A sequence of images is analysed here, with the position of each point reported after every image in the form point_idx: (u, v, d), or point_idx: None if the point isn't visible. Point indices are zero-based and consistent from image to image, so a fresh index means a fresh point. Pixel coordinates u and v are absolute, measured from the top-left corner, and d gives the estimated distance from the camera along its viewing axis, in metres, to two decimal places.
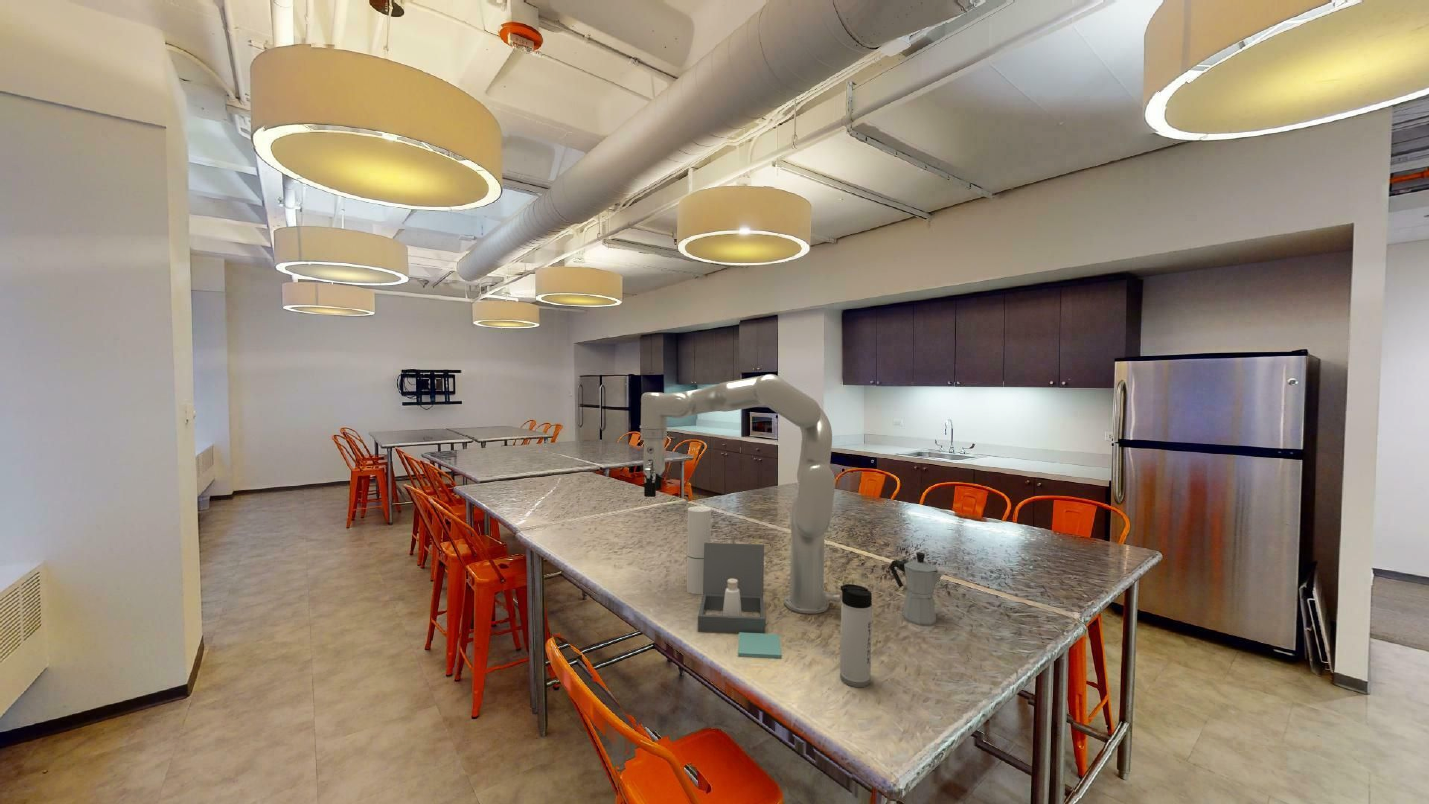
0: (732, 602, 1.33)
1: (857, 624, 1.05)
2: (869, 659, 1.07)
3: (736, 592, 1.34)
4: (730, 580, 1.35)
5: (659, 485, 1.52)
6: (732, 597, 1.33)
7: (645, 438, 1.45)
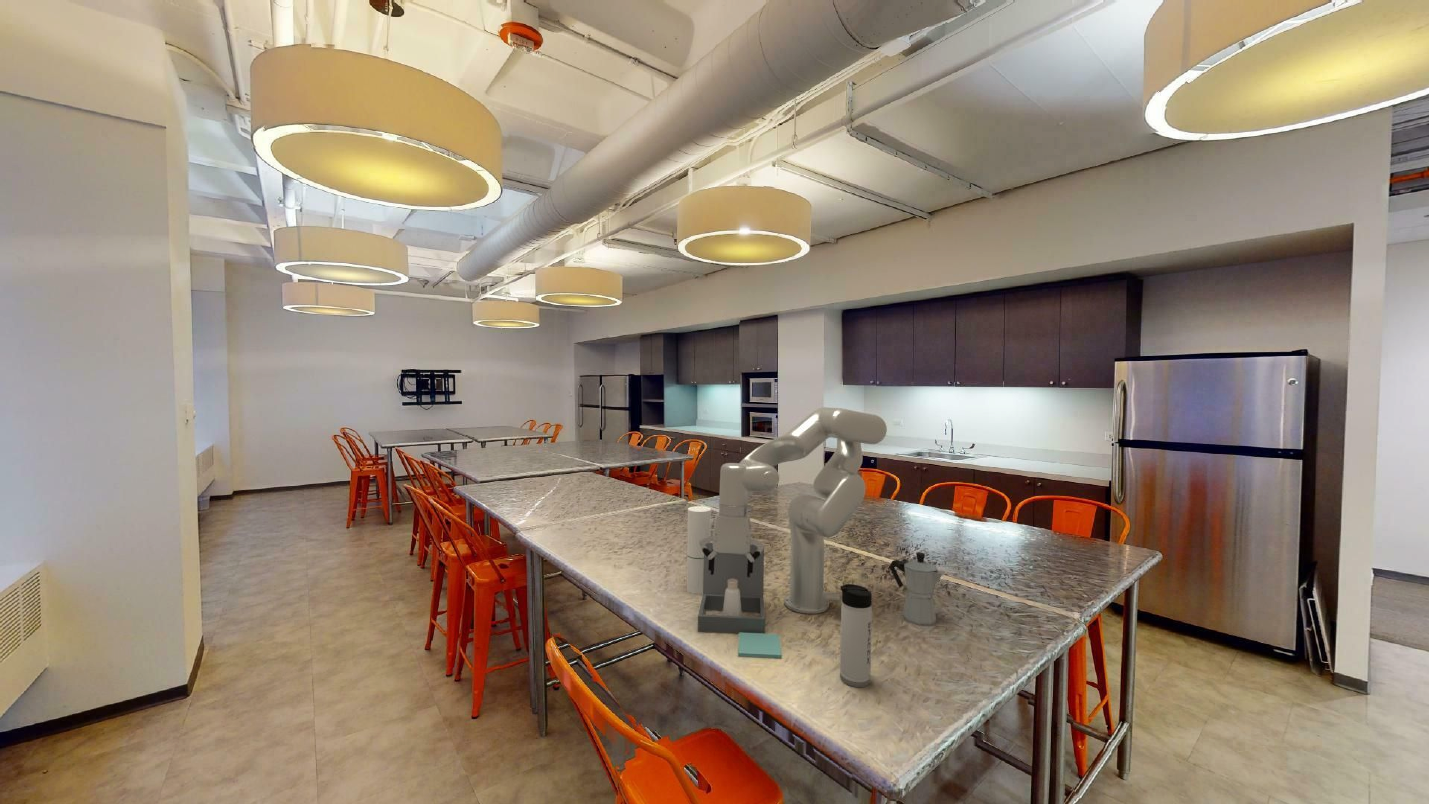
0: (732, 602, 1.33)
1: (857, 624, 1.05)
2: (869, 659, 1.07)
3: (736, 592, 1.34)
4: (730, 580, 1.35)
5: None
6: (733, 597, 1.33)
7: (745, 515, 1.33)
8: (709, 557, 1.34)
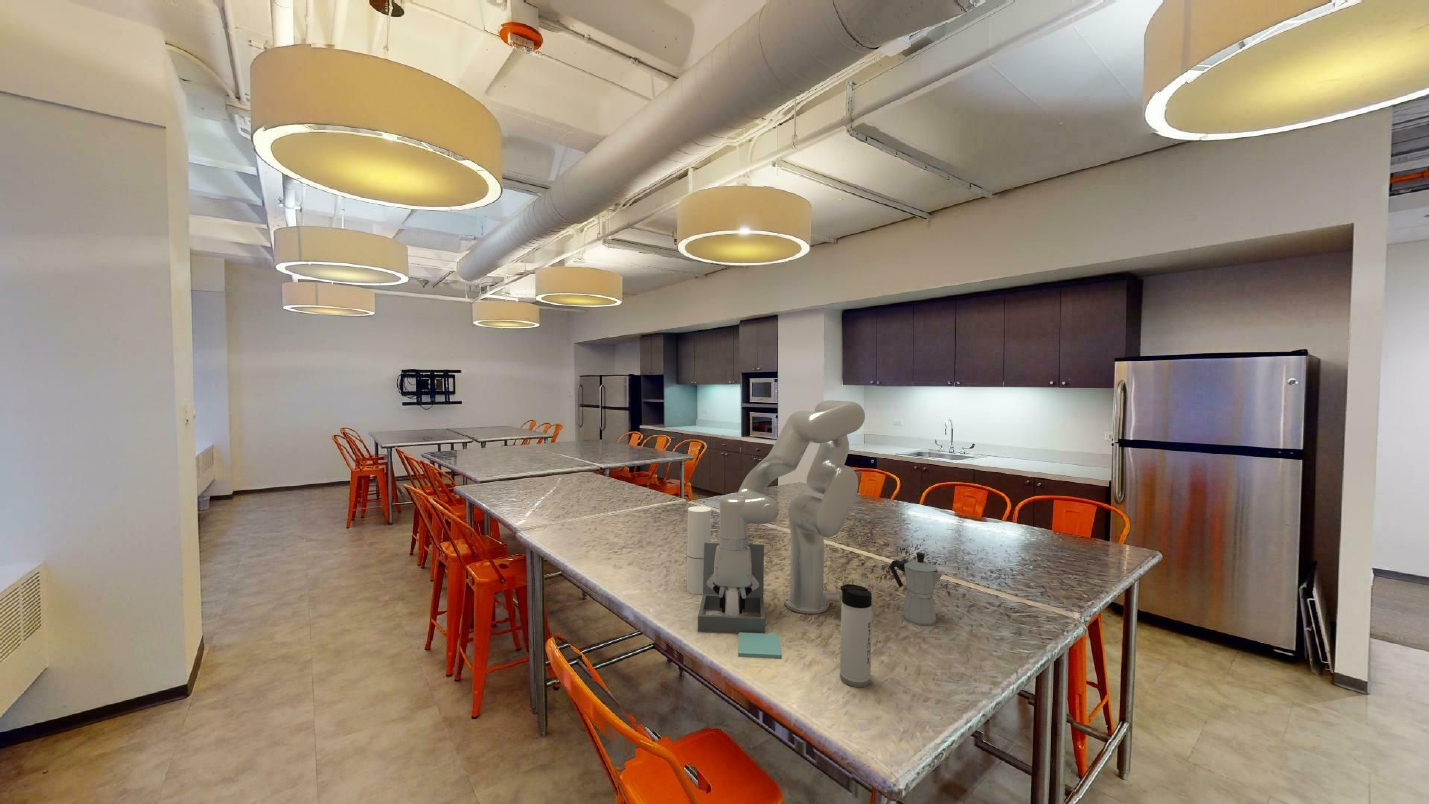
0: (732, 602, 1.33)
1: (857, 624, 1.05)
2: (869, 659, 1.07)
3: (736, 592, 1.34)
4: None
5: None
6: (732, 597, 1.33)
7: (745, 548, 1.33)
8: (720, 595, 1.34)
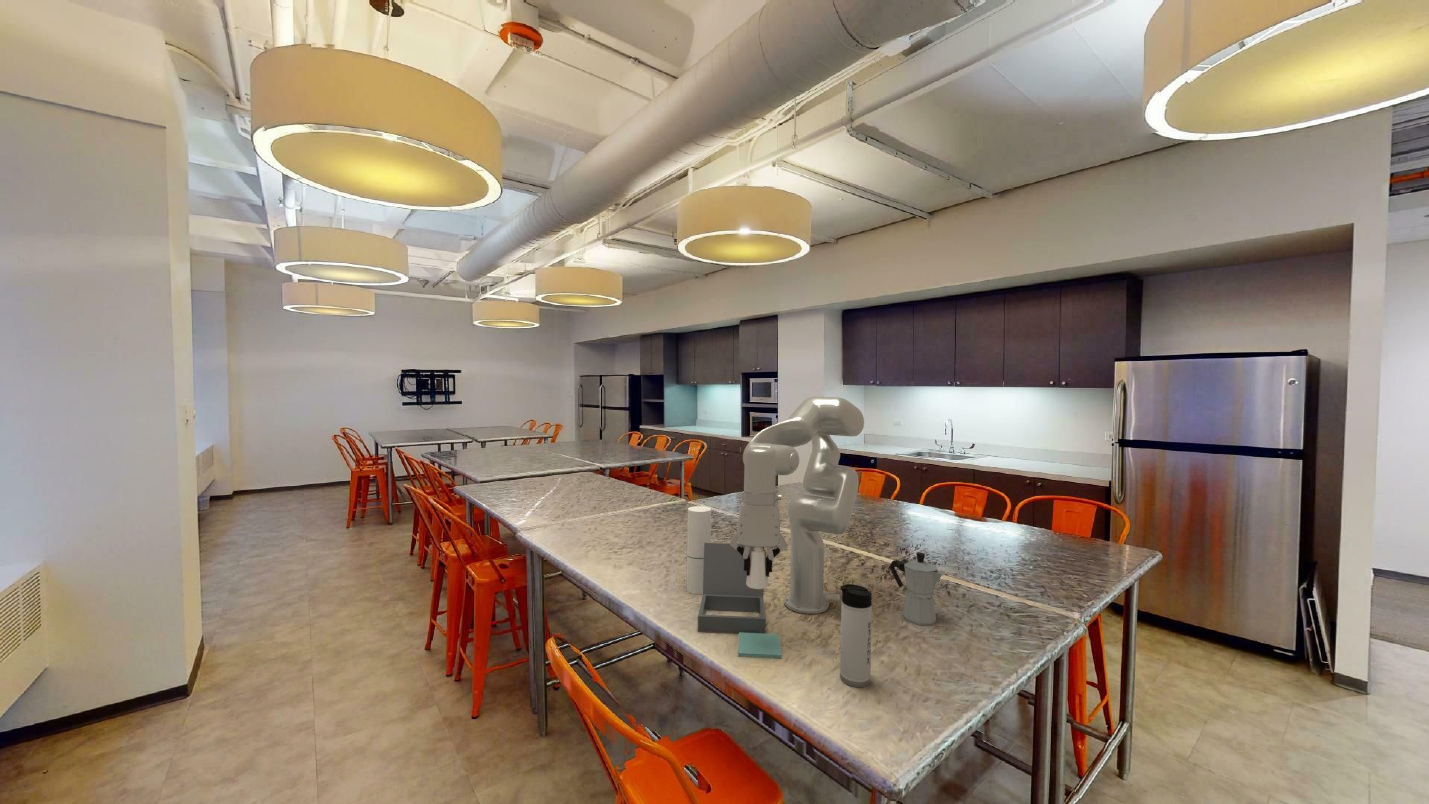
0: (757, 564, 1.20)
1: (857, 624, 1.05)
2: (869, 659, 1.07)
3: (762, 553, 1.21)
4: None
5: None
6: (758, 558, 1.20)
7: (773, 504, 1.20)
8: (745, 556, 1.21)
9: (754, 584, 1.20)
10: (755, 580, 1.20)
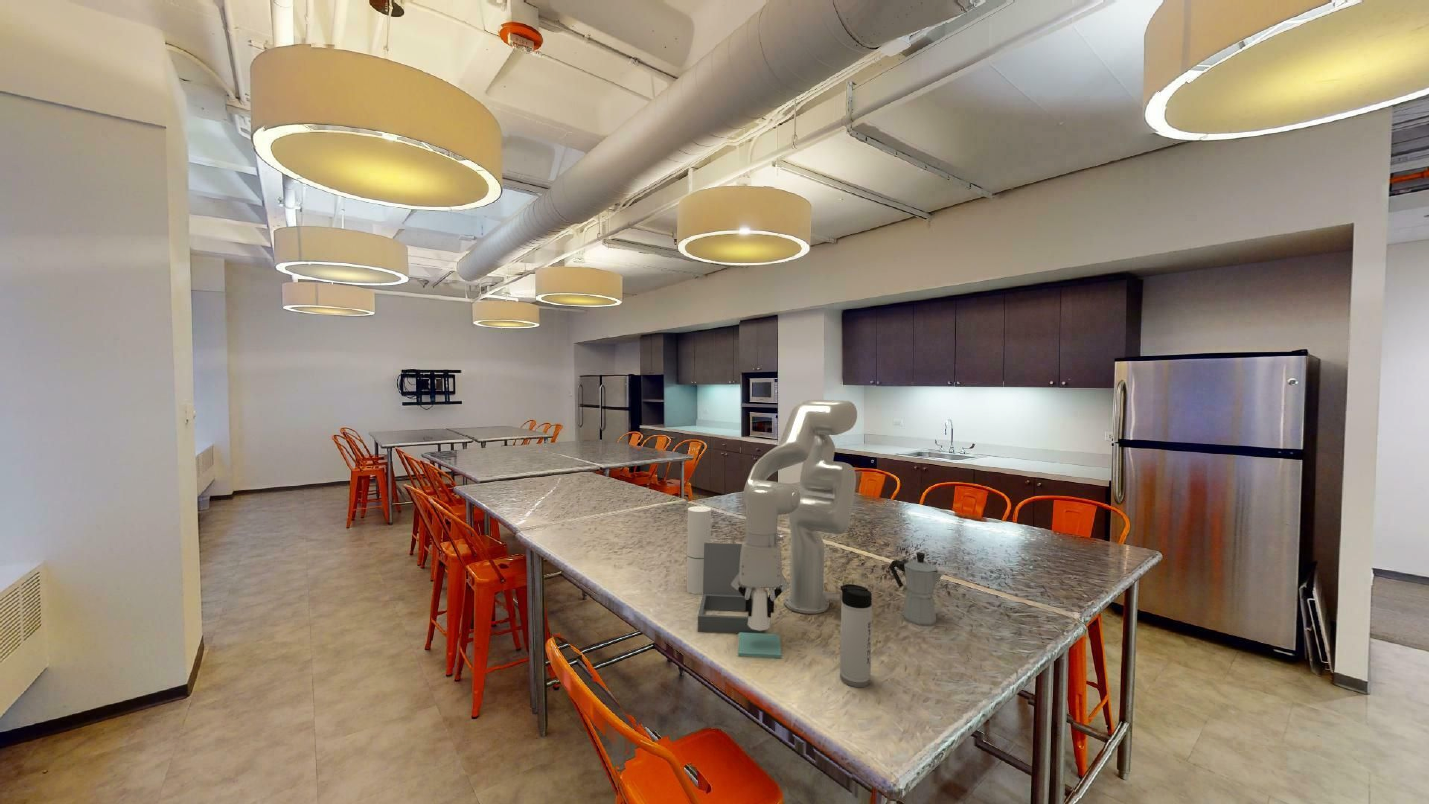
0: (759, 605, 1.19)
1: (857, 624, 1.05)
2: (869, 659, 1.07)
3: (764, 594, 1.20)
4: None
5: None
6: (760, 599, 1.19)
7: (775, 544, 1.19)
8: (746, 597, 1.20)
9: (756, 625, 1.19)
10: (757, 621, 1.19)
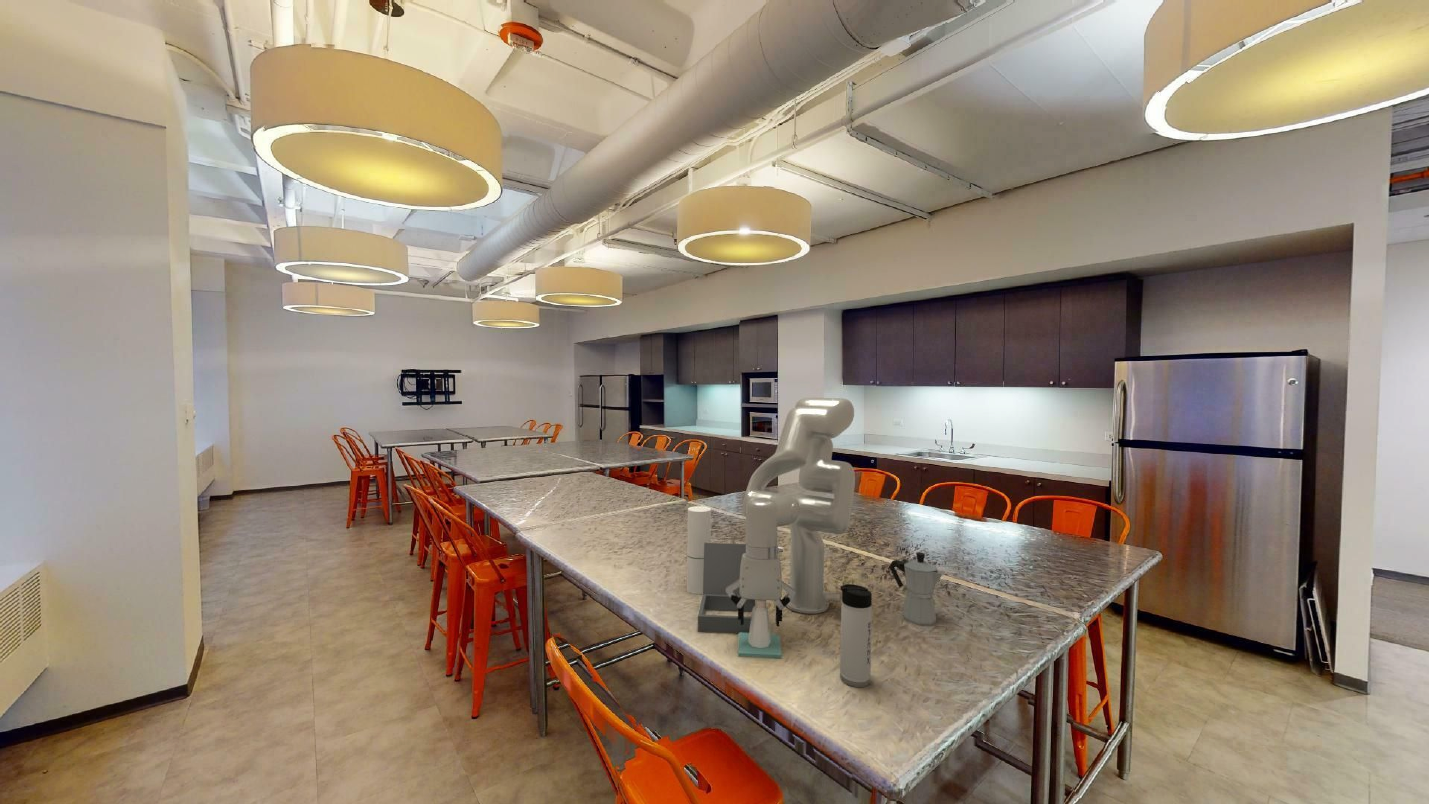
0: (760, 623, 1.20)
1: (857, 624, 1.05)
2: (869, 659, 1.07)
3: (765, 612, 1.20)
4: None
5: None
6: (761, 617, 1.20)
7: (775, 557, 1.19)
8: (738, 605, 1.21)
9: (757, 643, 1.20)
10: (757, 639, 1.20)
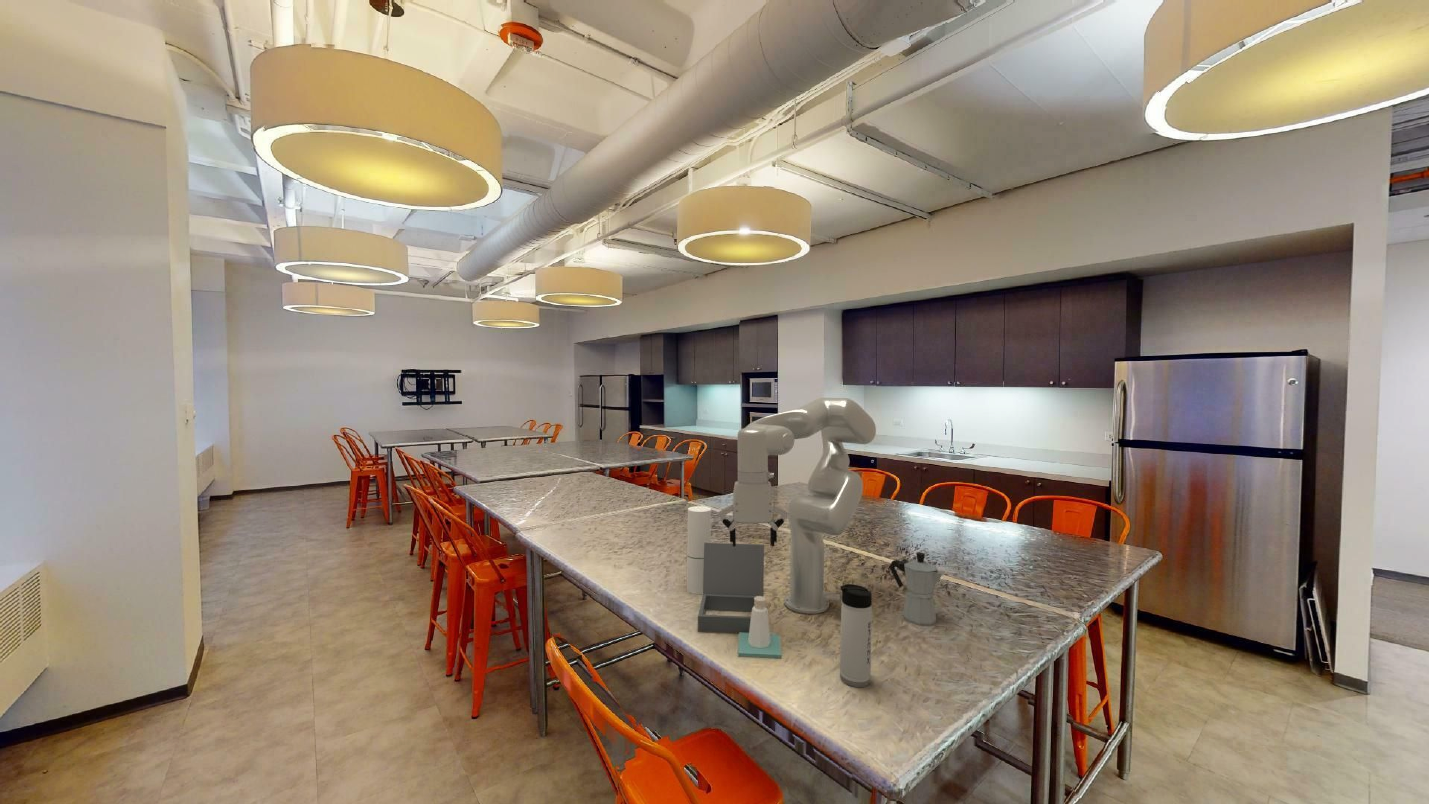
0: (760, 623, 1.20)
1: (857, 624, 1.05)
2: (869, 659, 1.07)
3: (764, 611, 1.20)
4: (757, 598, 1.21)
5: None
6: (760, 617, 1.20)
7: (766, 482, 1.25)
8: (730, 528, 1.26)
9: (756, 643, 1.20)
10: (757, 639, 1.20)
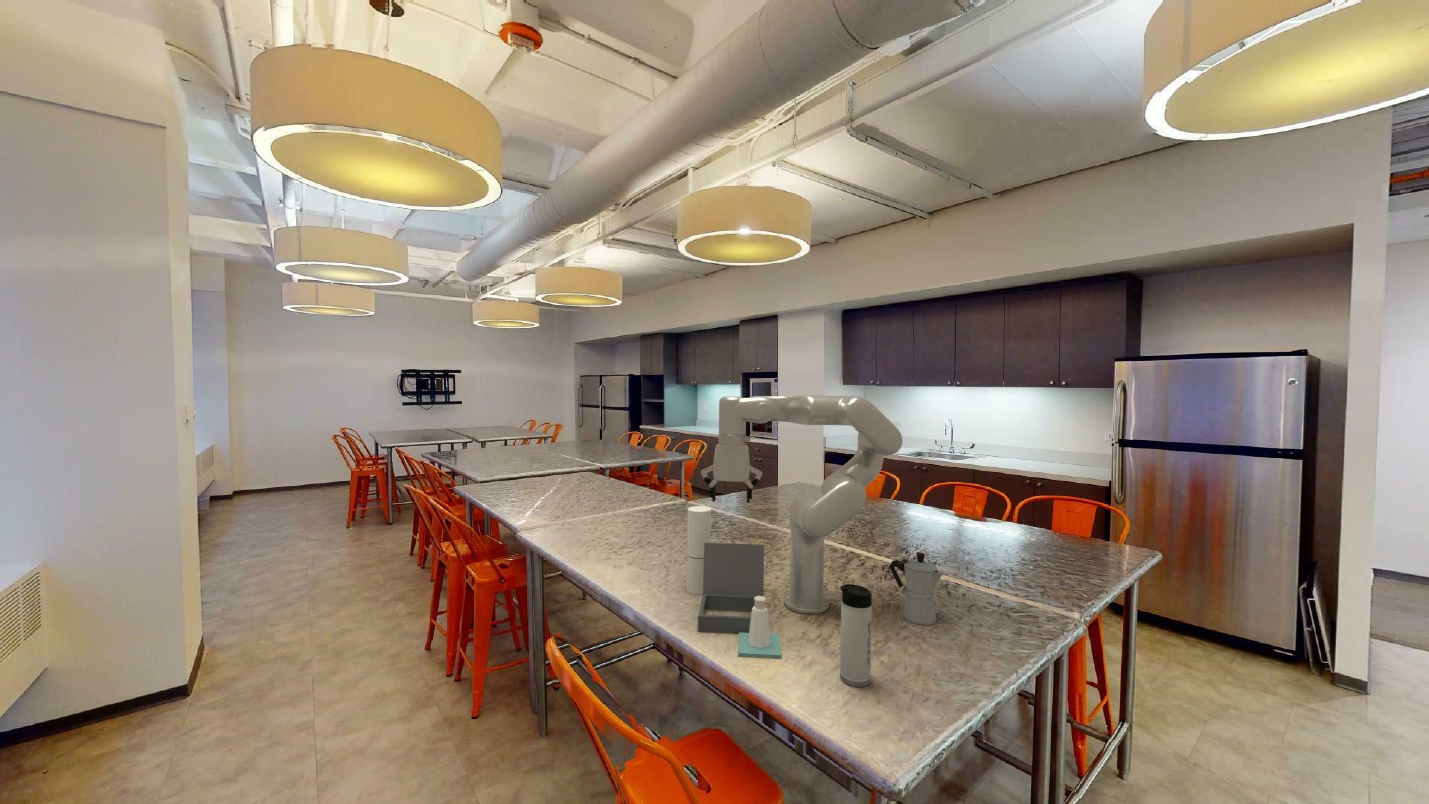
0: (760, 623, 1.20)
1: (857, 624, 1.05)
2: (869, 659, 1.07)
3: (764, 611, 1.20)
4: (757, 598, 1.21)
5: (715, 494, 1.44)
6: (760, 617, 1.20)
7: (743, 444, 1.40)
8: (710, 485, 1.42)
9: (756, 643, 1.20)
10: (757, 639, 1.20)
